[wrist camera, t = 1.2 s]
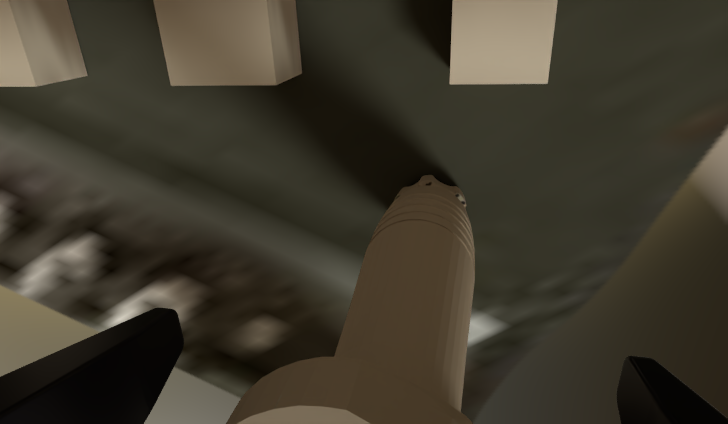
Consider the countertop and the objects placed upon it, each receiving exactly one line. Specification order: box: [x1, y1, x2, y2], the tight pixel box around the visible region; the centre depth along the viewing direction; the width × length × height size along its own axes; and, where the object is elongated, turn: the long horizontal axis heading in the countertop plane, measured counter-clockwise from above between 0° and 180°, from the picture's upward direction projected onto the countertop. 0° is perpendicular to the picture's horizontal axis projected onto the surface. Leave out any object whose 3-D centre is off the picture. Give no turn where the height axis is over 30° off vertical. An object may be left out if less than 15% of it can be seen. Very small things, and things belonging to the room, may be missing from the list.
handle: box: [226, 175, 475, 424], centre depth 15 cm, size 5×6×15 cm
